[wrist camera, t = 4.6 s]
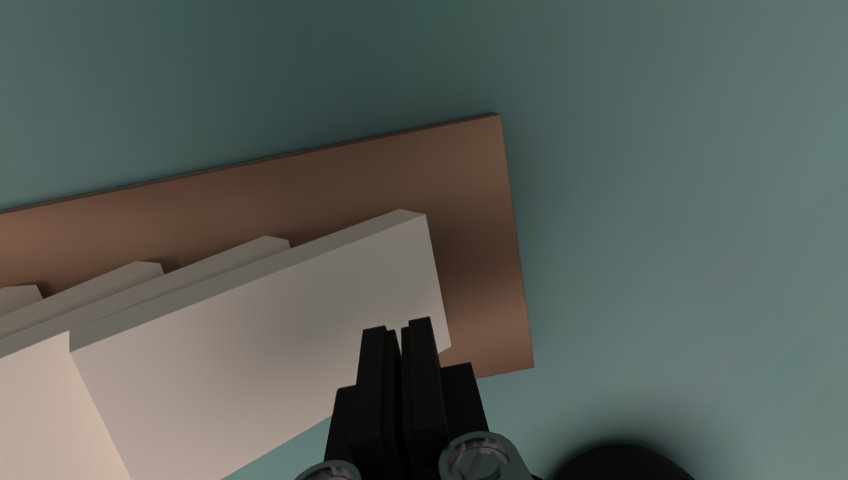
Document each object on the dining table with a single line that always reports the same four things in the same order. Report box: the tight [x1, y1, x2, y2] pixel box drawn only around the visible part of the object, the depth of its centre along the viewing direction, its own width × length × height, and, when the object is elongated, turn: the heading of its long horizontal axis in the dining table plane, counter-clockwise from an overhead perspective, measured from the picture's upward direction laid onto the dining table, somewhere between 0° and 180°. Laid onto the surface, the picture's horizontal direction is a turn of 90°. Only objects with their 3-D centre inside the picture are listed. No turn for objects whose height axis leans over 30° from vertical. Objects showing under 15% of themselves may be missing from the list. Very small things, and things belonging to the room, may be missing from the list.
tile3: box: [0, 261, 164, 339], centre depth 14 cm, size 2×5×10 cm
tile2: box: [0, 235, 291, 480], centre depth 14 cm, size 2×5×10 cm
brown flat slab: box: [0, 112, 534, 379], centre depth 19 cm, size 10×26×1 cm, turn 101°
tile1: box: [69, 209, 451, 480], centre depth 15 cm, size 2×5×10 cm
